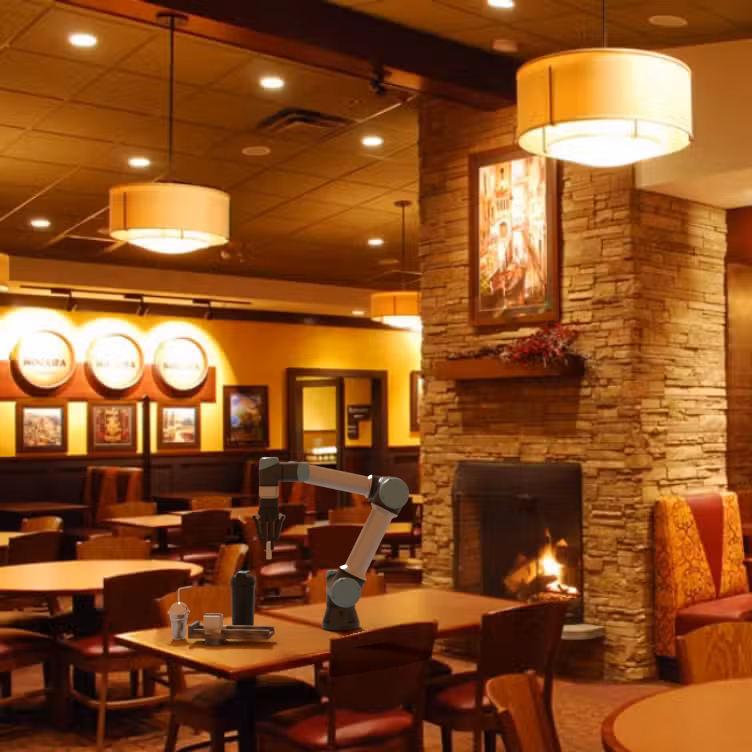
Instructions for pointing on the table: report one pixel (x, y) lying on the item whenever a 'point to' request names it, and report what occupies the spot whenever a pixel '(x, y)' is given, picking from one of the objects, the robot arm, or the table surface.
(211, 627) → the rider
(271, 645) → the table surface
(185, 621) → the cup with straw
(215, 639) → the brown wooden tray
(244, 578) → the water bottle
